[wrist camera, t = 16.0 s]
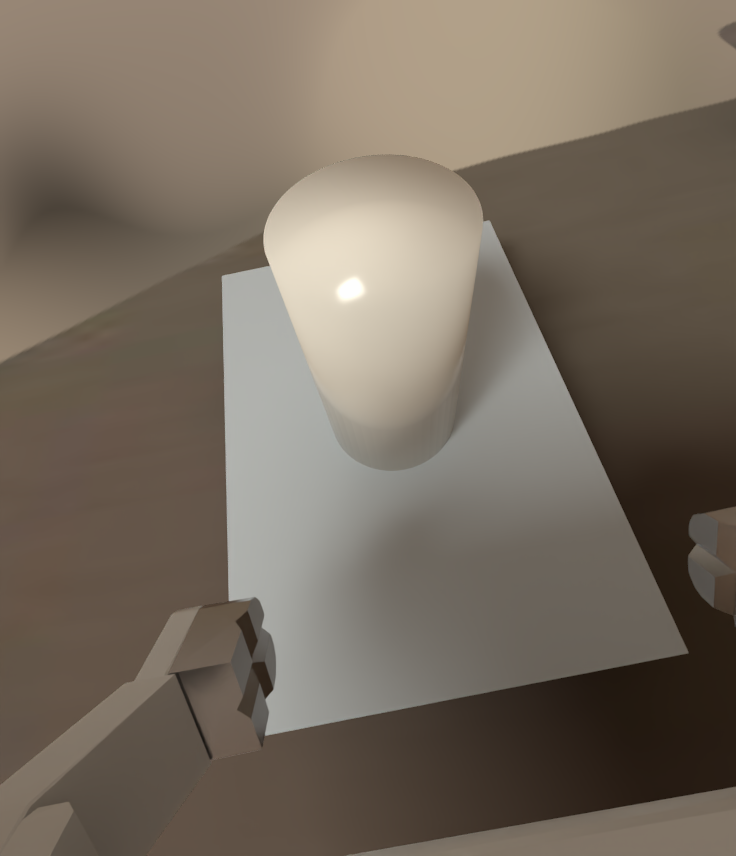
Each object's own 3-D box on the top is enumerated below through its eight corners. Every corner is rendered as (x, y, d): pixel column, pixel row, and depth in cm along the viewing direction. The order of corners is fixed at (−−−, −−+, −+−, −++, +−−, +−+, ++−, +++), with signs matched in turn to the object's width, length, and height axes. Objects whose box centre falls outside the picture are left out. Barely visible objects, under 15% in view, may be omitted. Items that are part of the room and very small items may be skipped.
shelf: (632, 653, 17) (688, 653, 13) (271, 724, 17) (232, 741, 13) (480, 279, 26) (489, 220, 23) (248, 327, 26) (221, 276, 23)
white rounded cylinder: (469, 456, 17) (514, 276, 9) (341, 482, 17) (271, 327, 9) (437, 353, 19) (450, 138, 11) (324, 376, 19) (257, 178, 11)
